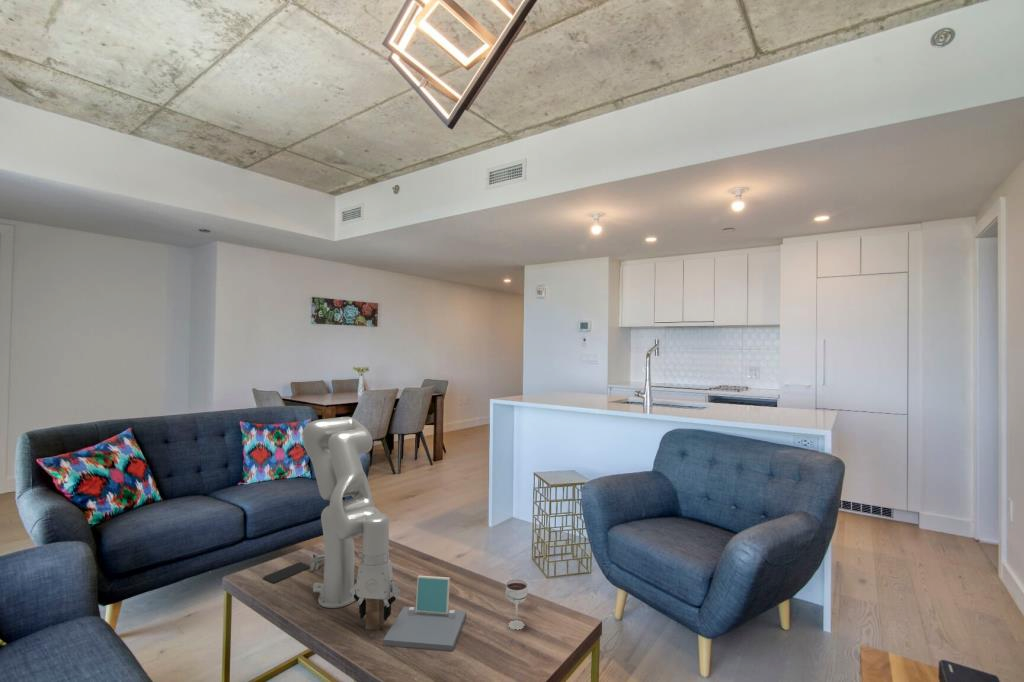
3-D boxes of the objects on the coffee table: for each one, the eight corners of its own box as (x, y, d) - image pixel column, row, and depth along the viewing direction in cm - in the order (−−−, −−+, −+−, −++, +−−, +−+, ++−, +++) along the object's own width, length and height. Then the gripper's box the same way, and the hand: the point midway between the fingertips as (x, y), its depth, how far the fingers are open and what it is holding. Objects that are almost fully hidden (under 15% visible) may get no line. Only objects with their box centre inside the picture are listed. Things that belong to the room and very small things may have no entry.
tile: (416, 610, 146) (415, 611, 145) (418, 575, 148) (417, 576, 147) (448, 612, 145) (447, 614, 144) (449, 577, 147) (449, 578, 146)
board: (383, 645, 133) (383, 633, 133) (404, 611, 149) (404, 601, 149) (452, 651, 130) (452, 639, 130) (466, 616, 147) (466, 606, 147)
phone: (311, 566, 178) (273, 582, 166) (311, 568, 178) (273, 585, 166) (299, 561, 182) (261, 577, 170) (299, 563, 182) (261, 579, 170)
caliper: (311, 573, 174) (311, 556, 174) (309, 572, 175) (310, 555, 175) (354, 552, 192) (354, 536, 192) (352, 551, 193) (352, 536, 193)
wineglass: (502, 620, 145) (502, 581, 145) (522, 616, 147) (522, 577, 147) (509, 633, 138) (510, 592, 138) (531, 628, 141) (531, 588, 141)
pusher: (365, 629, 140) (366, 595, 140) (371, 621, 144) (371, 588, 144) (378, 630, 140) (379, 596, 140) (383, 622, 143) (384, 589, 144)
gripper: (342, 561, 139) (341, 622, 139) (399, 564, 137) (398, 626, 137) (353, 550, 147) (353, 608, 146) (407, 553, 145) (407, 612, 144)
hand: (375, 616), depth 142 cm, fingers open, 6 cm apart
